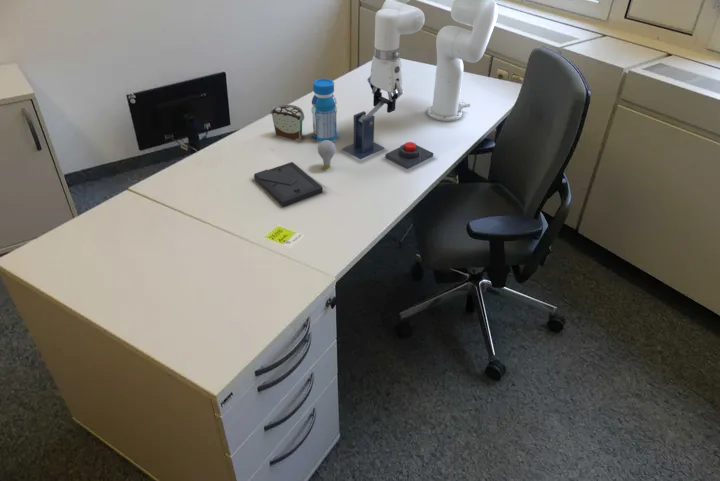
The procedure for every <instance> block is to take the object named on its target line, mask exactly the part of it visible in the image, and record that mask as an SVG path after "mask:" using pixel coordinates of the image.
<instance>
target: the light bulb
mask: <svg viewBox="0 0 720 481" xmlns="http://www.w3.org/2000/svg"><path fill="white" fill-rule="evenodd" d="M336 150H337V149H336V145H335V143H334V142H332V140H331V141H329V140H324V141H320V142H319V143H318V146H317V153H318V155H319V156H320V158H321V159H322V163H323V168H324V169H325V170H328V169H330V168H331V164H332V162H331V161H332V160H333V157H334V155H335V154H336Z"/></svg>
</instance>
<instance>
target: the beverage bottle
mask: <svg viewBox="0 0 720 481" xmlns="http://www.w3.org/2000/svg"><path fill="white" fill-rule="evenodd" d="M312 89H313V94H314V95H313V97H312V99H311V105H312V107H311V115H312V131H313V133H312V138H313V139H314V140H316V141H319V142H322V141H324V140H329V141H331V142H332V141H334V140H336V139H337V137H338V132H337V131H338V130H337V113H338V107H337V98H336V97H335V94H334V93H335V82H334V81H333V80H332V79H330V78H319V79H318V78H317V79H315V80H314V81H313V82H312Z"/></svg>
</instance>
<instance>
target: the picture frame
mask: <svg viewBox="0 0 720 481" xmlns="http://www.w3.org/2000/svg"><path fill="white" fill-rule="evenodd" d="M253 178H254V181H255V182H256V183H257V184H258V185H259V186H261V188H263V189H264V191H266V193H268V195H270V196H271V197H272V198H273V199H274V200H275V201H276V202H277V203H278V204H279V205H280V206H281V207H282V208H285V207H288V206H290V205H293V204H296V203H298V202H302V201H304V200H307V199H309V198H313V197H315V196H317V195H320V194H323V192H324V191H323V187H322V185H320V184H319V183H318V182H317V181H316V180H315V179H313V178H312V177H311V176H310V175H309V174H308V173H307V172H305V171H304V170H303V169H302V168H300V167H299V166H298V165H297V164H295V163H294V162H293V161H291V162H288V163H285V164H282V165H279V166H275V167H272V168H270V169H264V170H261V171H258V172H255V173H254V174H253Z"/></svg>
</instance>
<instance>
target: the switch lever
mask: <svg viewBox="0 0 720 481" xmlns="http://www.w3.org/2000/svg"><path fill="white" fill-rule="evenodd" d="M377 100H378V101H380V102H379V103H378V104H377V105H376V106H373V108H372V109H371V110H369V112H368V113H367V114H366V115H364V114H363V115H362V116H361V117H360V118H359V119H358V122H359V124H360V126H362V119H365V118H367V117H369V116H372V115H373V116H374V115H375V114H376V113H377V112H378V111H379V110H380V109H381V108H382V107H383V106H384V105H387V102H388V101H389V98H386V97H384V96H383V95H382V96H378V97H377Z"/></svg>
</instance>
